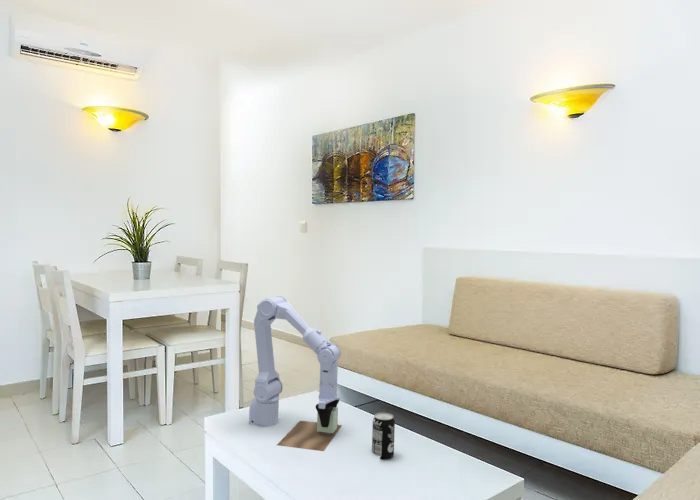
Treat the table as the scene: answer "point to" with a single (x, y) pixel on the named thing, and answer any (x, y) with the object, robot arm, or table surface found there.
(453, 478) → the table surface
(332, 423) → the green slotted cube
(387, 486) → the table surface
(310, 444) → the board
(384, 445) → the beverage can
